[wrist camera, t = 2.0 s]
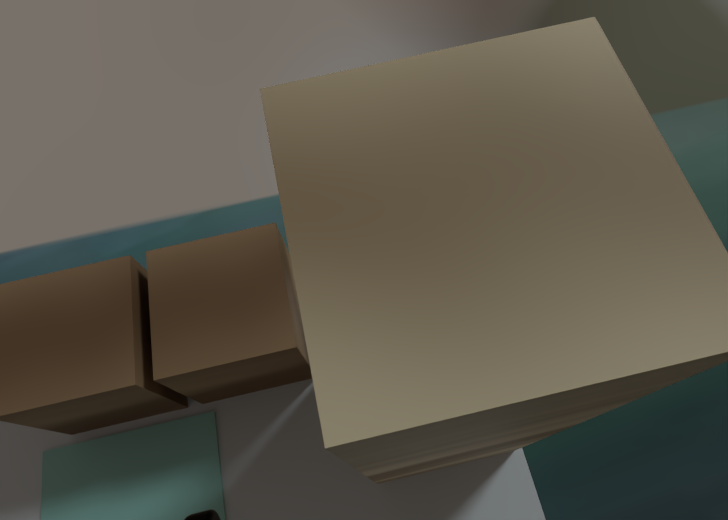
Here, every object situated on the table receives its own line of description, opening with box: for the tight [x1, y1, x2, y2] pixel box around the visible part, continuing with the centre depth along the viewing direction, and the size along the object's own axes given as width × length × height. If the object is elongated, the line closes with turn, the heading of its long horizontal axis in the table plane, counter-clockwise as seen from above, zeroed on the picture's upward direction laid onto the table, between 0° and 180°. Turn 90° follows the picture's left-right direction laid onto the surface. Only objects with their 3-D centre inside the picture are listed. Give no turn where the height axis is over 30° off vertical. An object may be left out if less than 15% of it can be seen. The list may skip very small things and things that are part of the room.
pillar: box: [260, 17, 728, 484], centre depth 12 cm, size 4×4×13 cm
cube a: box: [0, 255, 188, 435], centre depth 17 cm, size 4×4×4 cm
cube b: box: [146, 223, 312, 404], centre depth 17 cm, size 4×4×4 cm
